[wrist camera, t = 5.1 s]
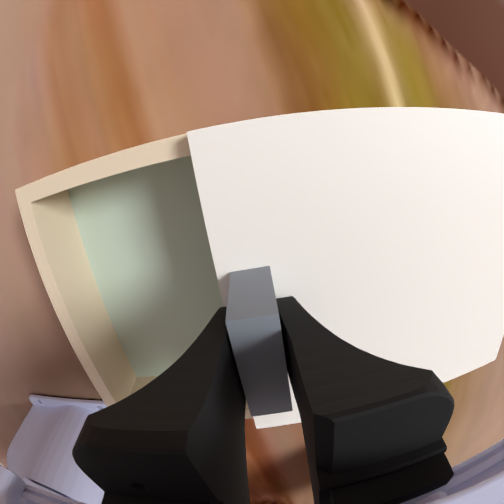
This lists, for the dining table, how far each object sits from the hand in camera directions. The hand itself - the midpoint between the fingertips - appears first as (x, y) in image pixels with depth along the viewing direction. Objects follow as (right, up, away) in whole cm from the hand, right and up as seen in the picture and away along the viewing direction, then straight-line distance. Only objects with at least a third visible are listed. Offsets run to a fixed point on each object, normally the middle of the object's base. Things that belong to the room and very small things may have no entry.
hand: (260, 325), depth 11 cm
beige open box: (-2, +2, +5) cm, 6 cm away
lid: (+6, +1, +1) cm, 6 cm away
